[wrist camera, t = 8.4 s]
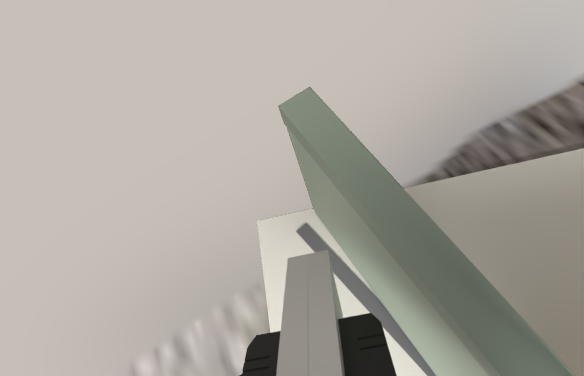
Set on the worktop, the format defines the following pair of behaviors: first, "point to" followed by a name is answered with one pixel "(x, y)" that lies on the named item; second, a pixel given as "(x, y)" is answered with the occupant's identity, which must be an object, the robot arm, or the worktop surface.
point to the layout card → (470, 251)
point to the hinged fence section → (409, 256)
